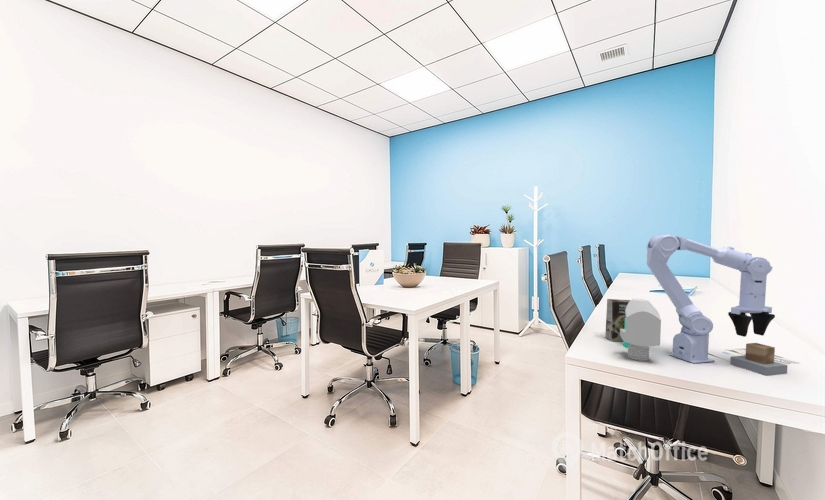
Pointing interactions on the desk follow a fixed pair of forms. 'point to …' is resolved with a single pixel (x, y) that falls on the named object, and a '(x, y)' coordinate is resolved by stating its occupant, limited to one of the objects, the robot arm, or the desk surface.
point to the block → (760, 353)
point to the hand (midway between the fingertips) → (750, 335)
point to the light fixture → (641, 328)
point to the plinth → (759, 366)
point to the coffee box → (615, 318)
